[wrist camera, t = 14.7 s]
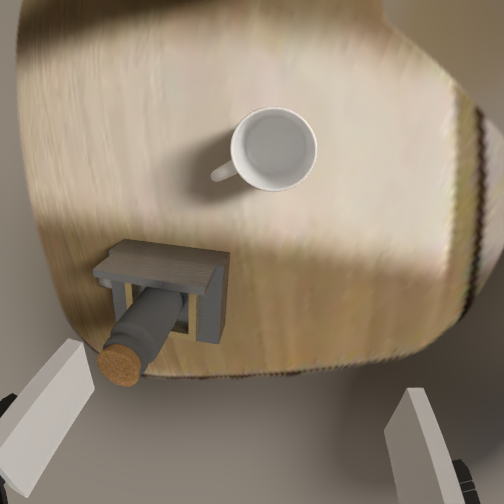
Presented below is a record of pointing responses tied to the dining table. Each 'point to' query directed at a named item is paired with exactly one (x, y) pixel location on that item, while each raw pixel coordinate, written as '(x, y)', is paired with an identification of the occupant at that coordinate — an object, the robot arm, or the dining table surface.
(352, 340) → the dining table surface
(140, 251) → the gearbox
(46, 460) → the robot arm
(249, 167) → the mug
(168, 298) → the bottle
